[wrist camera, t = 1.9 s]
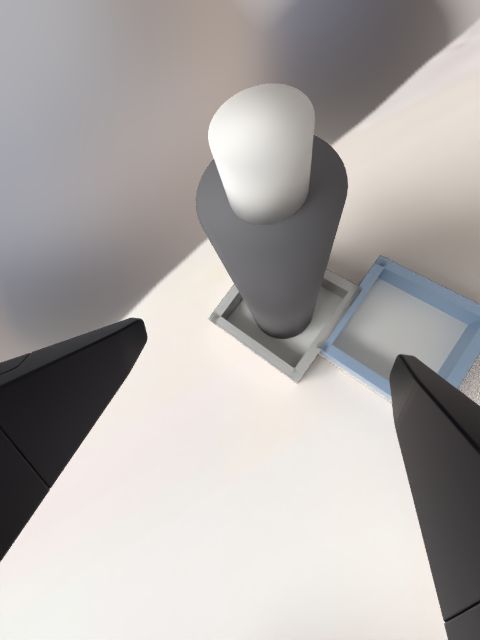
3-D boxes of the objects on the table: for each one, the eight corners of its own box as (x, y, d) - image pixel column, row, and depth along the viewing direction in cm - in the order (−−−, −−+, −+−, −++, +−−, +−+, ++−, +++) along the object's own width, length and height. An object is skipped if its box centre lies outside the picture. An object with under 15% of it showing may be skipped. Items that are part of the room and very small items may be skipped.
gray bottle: (290, 350, 19) (285, 249, 5) (243, 318, 21) (130, 164, 6) (324, 302, 20) (411, 78, 5) (275, 273, 21) (240, 32, 7)
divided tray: (394, 454, 17) (409, 465, 15) (217, 325, 22) (208, 318, 19) (476, 324, 18) (503, 316, 16) (289, 227, 23) (289, 210, 20)
